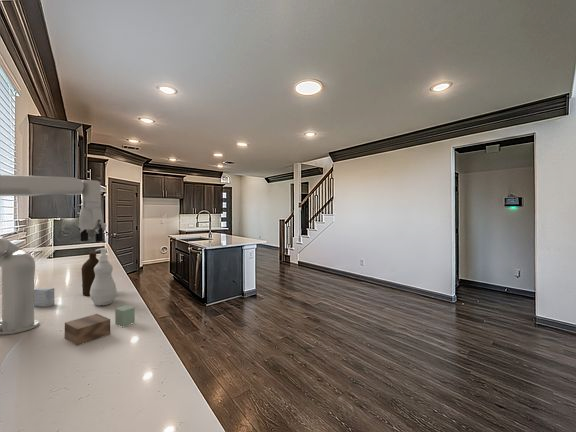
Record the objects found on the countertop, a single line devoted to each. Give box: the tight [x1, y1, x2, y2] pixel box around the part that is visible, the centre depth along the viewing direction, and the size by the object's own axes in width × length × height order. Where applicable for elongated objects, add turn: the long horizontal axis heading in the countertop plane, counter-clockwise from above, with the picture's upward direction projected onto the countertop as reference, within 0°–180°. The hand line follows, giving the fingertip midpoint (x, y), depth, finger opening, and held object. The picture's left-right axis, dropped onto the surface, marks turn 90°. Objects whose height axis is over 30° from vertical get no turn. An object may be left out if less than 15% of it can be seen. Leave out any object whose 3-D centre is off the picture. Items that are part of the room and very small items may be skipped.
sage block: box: [114, 304, 136, 328], centre depth 117 cm, size 5×6×7 cm
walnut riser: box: [64, 313, 111, 347], centre depth 105 cm, size 11×11×6 cm
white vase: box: [89, 247, 117, 307], centre depth 143 cm, size 17×12×29 cm
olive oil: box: [81, 251, 99, 297], centre depth 159 cm, size 11×11×25 cm
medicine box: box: [34, 287, 55, 308], centre depth 139 cm, size 8×4×9 cm, turn 84°
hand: (91, 241), depth 129 cm, fingers open, 9 cm apart
